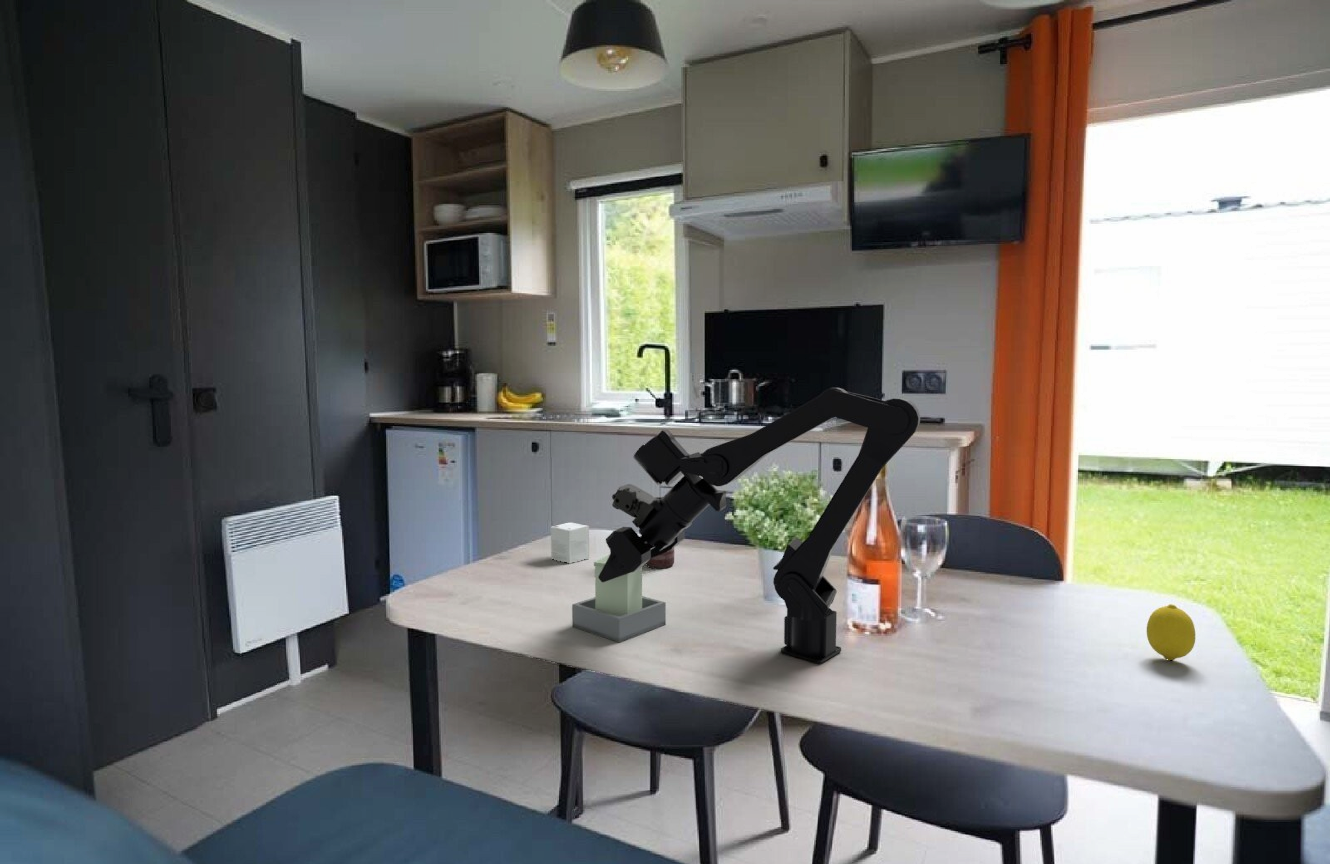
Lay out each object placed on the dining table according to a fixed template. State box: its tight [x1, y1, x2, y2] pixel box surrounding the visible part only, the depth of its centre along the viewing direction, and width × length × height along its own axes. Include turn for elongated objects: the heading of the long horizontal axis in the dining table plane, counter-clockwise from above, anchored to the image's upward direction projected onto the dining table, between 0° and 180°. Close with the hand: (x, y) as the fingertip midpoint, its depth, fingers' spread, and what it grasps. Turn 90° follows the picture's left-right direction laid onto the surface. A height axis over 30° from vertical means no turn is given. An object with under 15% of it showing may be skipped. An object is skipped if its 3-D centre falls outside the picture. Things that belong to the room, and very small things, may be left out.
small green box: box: [593, 554, 643, 617], centre depth 114 cm, size 6×6×10 cm
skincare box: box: [550, 522, 591, 564], centre depth 156 cm, size 6×6×7 cm
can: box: [644, 496, 675, 570], centre depth 151 cm, size 6×6×14 cm
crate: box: [571, 595, 667, 644], centre depth 114 cm, size 10×10×4 cm
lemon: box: [1146, 603, 1196, 661], centre depth 100 cm, size 6×6×8 cm
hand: (613, 572), depth 114 cm, fingers open, 9 cm apart
